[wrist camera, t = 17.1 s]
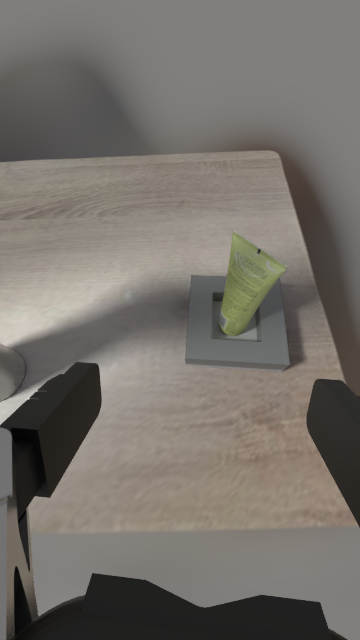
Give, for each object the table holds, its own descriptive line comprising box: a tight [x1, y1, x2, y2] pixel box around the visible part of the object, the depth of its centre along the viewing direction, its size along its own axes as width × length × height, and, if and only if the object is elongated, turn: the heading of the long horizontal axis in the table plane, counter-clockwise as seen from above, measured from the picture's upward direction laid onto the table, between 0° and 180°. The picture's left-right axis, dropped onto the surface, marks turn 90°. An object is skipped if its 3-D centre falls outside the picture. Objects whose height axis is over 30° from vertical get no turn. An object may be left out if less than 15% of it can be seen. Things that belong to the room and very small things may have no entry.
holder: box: [185, 275, 290, 372], centre depth 45 cm, size 16×16×4 cm
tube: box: [218, 231, 288, 336], centre depth 37 cm, size 6×5×20 cm
